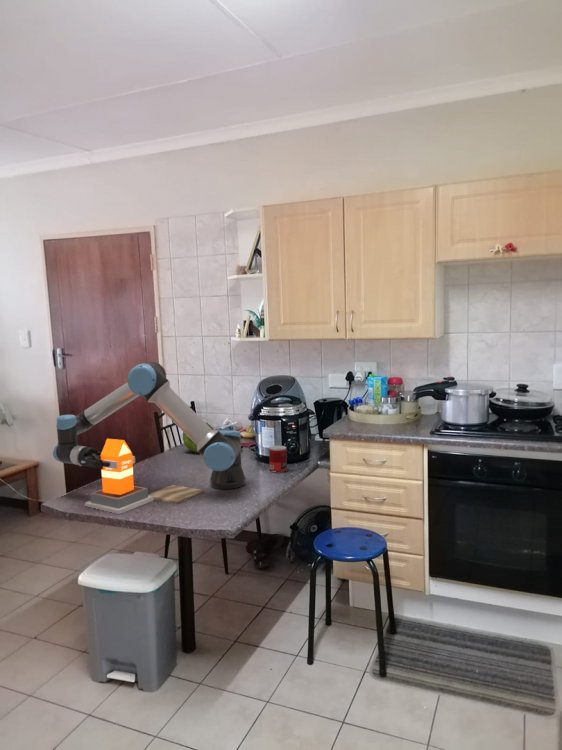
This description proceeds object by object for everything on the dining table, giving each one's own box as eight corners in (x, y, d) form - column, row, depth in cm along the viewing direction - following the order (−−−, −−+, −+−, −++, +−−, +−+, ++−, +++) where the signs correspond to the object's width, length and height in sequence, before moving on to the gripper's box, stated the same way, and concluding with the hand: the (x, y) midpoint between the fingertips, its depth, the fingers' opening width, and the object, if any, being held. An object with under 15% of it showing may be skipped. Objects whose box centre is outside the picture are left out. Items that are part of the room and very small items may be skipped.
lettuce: (208, 457, 315) (227, 434, 315) (198, 460, 292) (219, 436, 292) (186, 437, 317) (205, 415, 317) (174, 438, 294) (195, 414, 294)
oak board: (203, 492, 230) (203, 490, 230) (177, 503, 216) (177, 501, 216) (173, 487, 238) (173, 484, 238) (146, 497, 224) (146, 495, 224)
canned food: (285, 473, 256) (284, 449, 255) (267, 472, 258) (267, 449, 256) (288, 469, 263) (287, 445, 262) (271, 468, 265) (271, 445, 264)
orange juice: (116, 486, 223) (113, 436, 221) (134, 489, 219) (131, 438, 217) (102, 492, 216) (99, 440, 214) (120, 494, 212) (117, 442, 210)
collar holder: (153, 500, 221) (153, 487, 220) (118, 514, 206) (118, 501, 205) (120, 493, 230) (120, 481, 230) (85, 506, 215) (84, 493, 214)
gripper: (105, 459, 235) (146, 465, 223) (63, 471, 217) (104, 479, 205) (104, 441, 234) (145, 447, 222) (61, 452, 216) (103, 459, 205)
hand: (125, 462), depth 214 cm, fingers closed on orange juice, 8 cm apart
